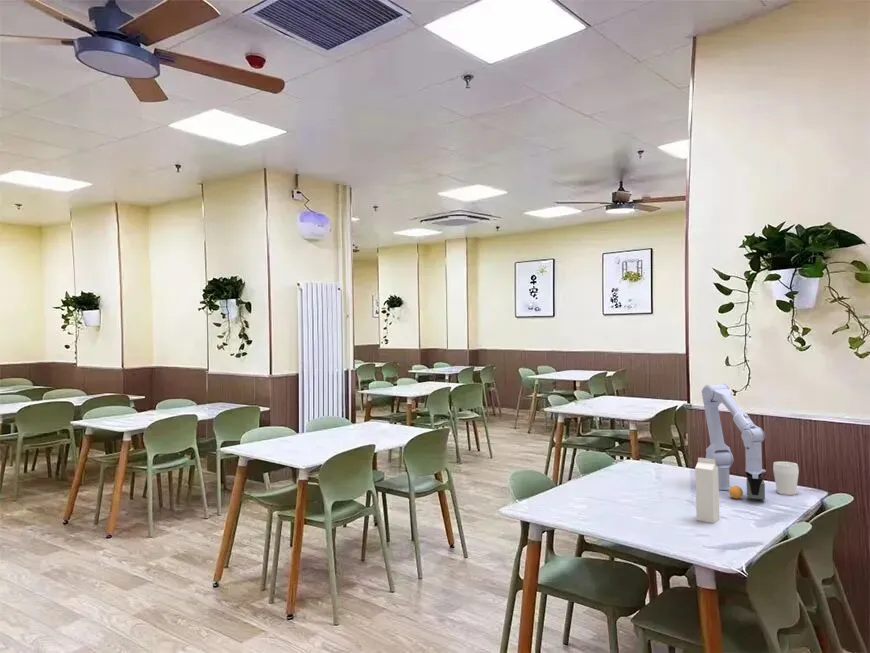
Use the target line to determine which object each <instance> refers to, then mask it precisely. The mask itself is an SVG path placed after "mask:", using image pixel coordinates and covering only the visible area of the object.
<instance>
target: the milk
mask: <svg viewBox="0 0 870 653" xmlns="http://www.w3.org/2000/svg"><path fill="white" fill-rule="evenodd" d="M694 471H695V472H694V473H695V474H694V475H695V504H696V505H695V506H696V507H695V508H696V509H695V510H696V511H695V512H696V513H695V514H696V520H697V521H699V522H704V523H709V524H715V523H716V522H718V521H719V520H720V494H719V493H720V490H719V483H718V466H717V465H716V464H715V460H714V459H707V458H706V457H705V458H704V457H697V463H696V466H695V468H694Z"/></svg>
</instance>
